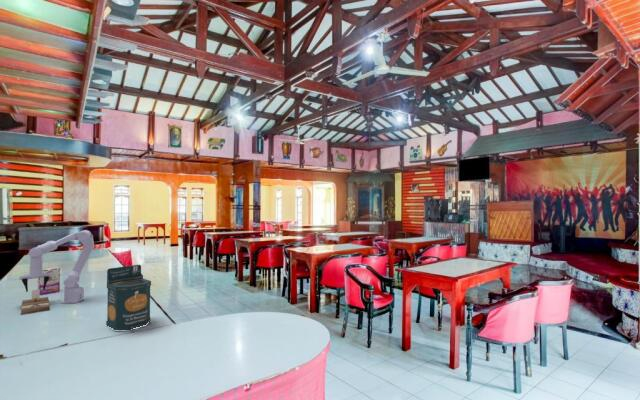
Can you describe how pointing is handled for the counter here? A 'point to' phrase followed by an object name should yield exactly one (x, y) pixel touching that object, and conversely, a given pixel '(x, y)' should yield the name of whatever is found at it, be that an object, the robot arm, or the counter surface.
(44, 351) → the counter surface
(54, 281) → the candy bar box
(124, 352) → the counter surface
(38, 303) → the socket board
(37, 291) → the plug
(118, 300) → the donation box
